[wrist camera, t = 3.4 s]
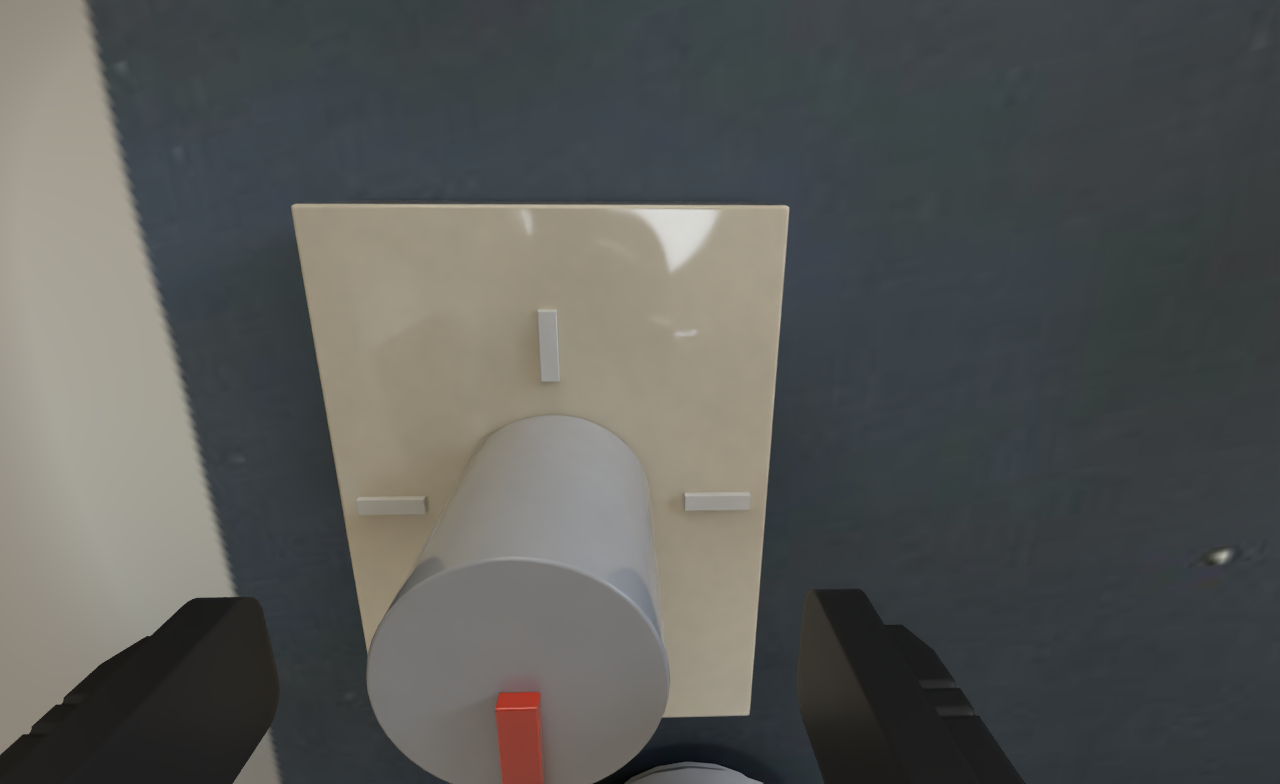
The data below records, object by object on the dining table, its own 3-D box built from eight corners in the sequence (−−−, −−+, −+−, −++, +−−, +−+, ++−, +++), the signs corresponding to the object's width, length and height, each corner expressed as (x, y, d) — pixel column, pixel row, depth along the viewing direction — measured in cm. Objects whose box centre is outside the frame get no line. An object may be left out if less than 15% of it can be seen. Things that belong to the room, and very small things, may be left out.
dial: (451, 414, 12) (331, 575, 7) (651, 413, 12) (676, 570, 7) (468, 584, 13) (377, 824, 8) (650, 581, 13) (669, 815, 8)
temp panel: (357, 200, 14) (283, 204, 11) (755, 202, 14) (793, 205, 11) (417, 638, 17) (375, 732, 14) (729, 632, 18) (752, 722, 15)
